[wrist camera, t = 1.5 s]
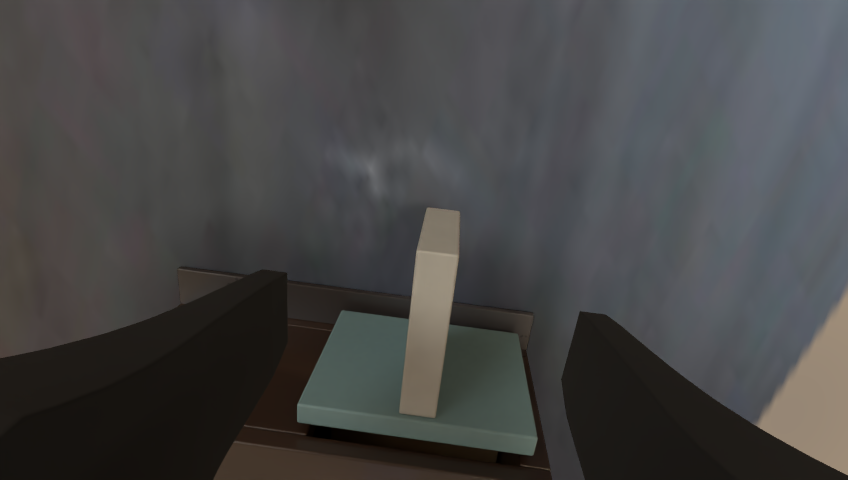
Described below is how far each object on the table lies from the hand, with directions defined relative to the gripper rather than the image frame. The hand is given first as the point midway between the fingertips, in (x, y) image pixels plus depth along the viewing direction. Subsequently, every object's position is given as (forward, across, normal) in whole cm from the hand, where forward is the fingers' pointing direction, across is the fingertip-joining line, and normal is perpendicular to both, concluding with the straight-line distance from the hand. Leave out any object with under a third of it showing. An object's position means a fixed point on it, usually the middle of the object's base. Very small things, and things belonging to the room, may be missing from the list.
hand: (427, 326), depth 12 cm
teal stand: (+8, 0, +2) cm, 8 cm away
